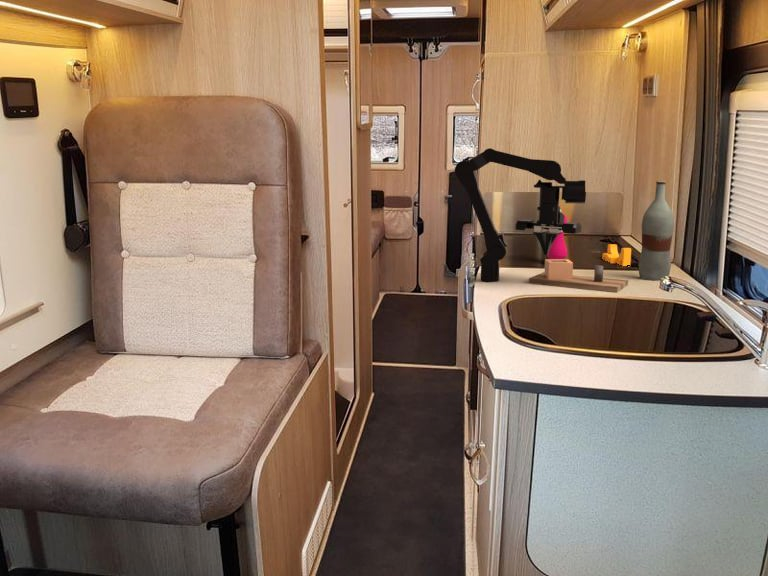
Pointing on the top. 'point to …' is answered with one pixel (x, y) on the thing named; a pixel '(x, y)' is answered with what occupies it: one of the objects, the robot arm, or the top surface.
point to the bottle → (656, 237)
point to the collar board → (583, 281)
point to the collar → (558, 269)
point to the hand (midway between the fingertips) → (546, 254)
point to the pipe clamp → (617, 255)
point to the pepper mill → (558, 246)
